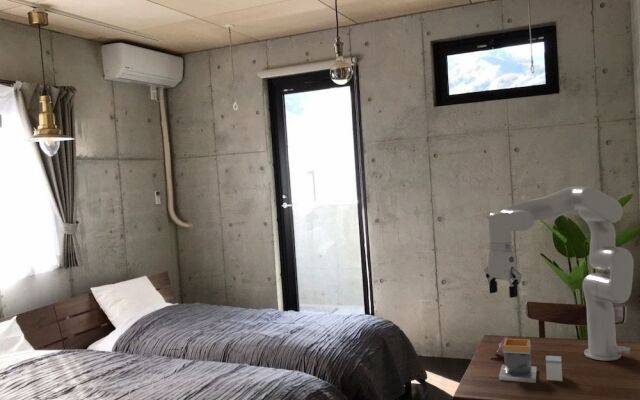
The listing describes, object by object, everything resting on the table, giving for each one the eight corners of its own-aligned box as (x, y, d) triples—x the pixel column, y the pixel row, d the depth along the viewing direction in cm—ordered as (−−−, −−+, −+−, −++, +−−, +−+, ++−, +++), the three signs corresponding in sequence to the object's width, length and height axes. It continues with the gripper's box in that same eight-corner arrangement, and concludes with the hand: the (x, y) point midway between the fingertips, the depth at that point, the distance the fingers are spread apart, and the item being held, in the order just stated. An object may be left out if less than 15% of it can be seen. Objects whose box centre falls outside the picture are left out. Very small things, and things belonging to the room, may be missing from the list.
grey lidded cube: (562, 375, 199) (561, 356, 199) (562, 381, 194) (561, 361, 194) (546, 374, 201) (545, 355, 201) (546, 380, 196) (545, 360, 196)
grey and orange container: (536, 370, 206) (535, 338, 205) (535, 382, 194) (533, 348, 194) (502, 368, 210) (500, 336, 210) (499, 380, 199) (497, 346, 199)
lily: (508, 353, 230) (494, 332, 231) (529, 348, 220) (515, 327, 221) (491, 369, 223) (477, 348, 224) (512, 365, 213) (497, 343, 214)
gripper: (527, 248, 194) (529, 297, 194) (491, 243, 209) (494, 289, 210) (511, 250, 190) (513, 300, 191) (475, 246, 206) (478, 292, 207)
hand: (503, 294), depth 200 cm, fingers open, 9 cm apart
